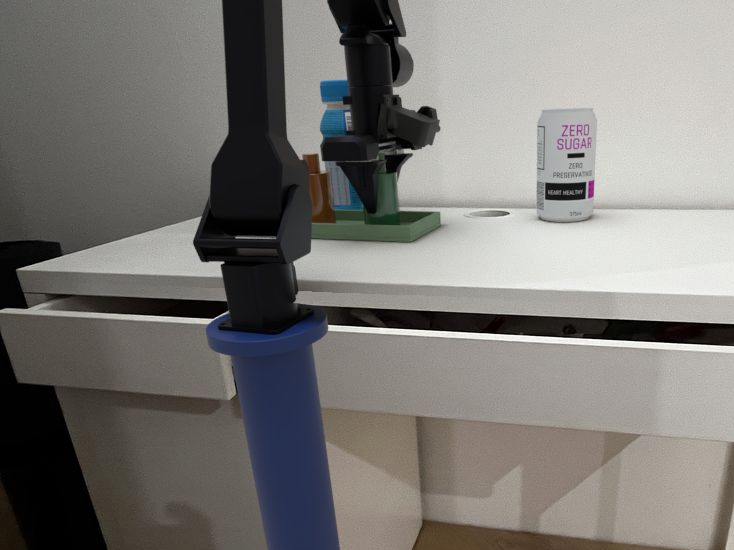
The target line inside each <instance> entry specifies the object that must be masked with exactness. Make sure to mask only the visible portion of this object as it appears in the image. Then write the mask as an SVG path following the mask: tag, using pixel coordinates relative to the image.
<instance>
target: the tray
mask: <svg viewBox="0 0 734 550" xmlns="http://www.w3.org/2000/svg"><path fill="white" fill-rule="evenodd" d="M335 214H336V223H337V224H334V223H312V232H311V239H317V240H318V239H320V240H342V241H343V240H346V241H347V240H348V241H370V242H371V241H373V242H374V241H375V242H397V243H399V242H401V243H412V242H413V241H415V240H417V239H419V238H421V237H423V236H424V235H426V234H428V233H430V232H432V231H434V230H435V229H437V228H439V227H441V226H442V222H441V220H442V219H441V211H431V210H429V211H427V210H400V222H401V225H368V224H364V217H363V210H341V209H335Z"/></svg>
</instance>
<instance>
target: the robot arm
mask: <svg viewBox="0 0 734 550" xmlns="http://www.w3.org/2000/svg"><path fill="white" fill-rule="evenodd" d="M326 3H327V6H328V9H329V11H330V13H331V15H332V17H333V19H334V21H335V23H336V26H337V28H338V30H339V32H340V34H341V35H340V37H339V40H338V43H339V45H340V46H343V51H344V52H343V53H344V62H345V63H344V64H345V71H346V80H347V83H348V87H349V88H348V94H349V96H342V97H343V105H350V114H351V125H352V130H347V131H346V135H339V136H331V137H326V138H325V139H324V140H323V139H322V140H323V142H322V141H321V143H320V145H319V147H320V148H319V149H320V157H321V162H324V161H337V162H336V165H337V166H340V168H341V169H342V171H343V172H344V174H345V175H346V177H347V179H348V180H349V182H350V183H351V185H352V186H353V188H354V190H355V191H356V193H357V195H358V197H359V198H360V200H361V202H362V204H363V205H364V207H365V209H366V211H367V212H368V213H369V214H375V213H376V210H377V186H378V172H379V170H380V169H381V168H382V166H383V165H384V164H385V162H386V171H396V172H397V181H398V182H399V179H400V174H401V170H402V167H403V166H404V165H405V163H406V162H408V160H409V159H411V158H412V157H413V156H414V153H412V152H410V153H409V152H406V153H405V150H411V151H419V150H423V148H425V147H427V146H430V147H432V146H433V145H434V142H435V138H436V134H437V133H440V131H441V126H440V123H441V120H440V119H438V113H437V109H436V108H434V107H432V106H428V105H422V106H421V107H420V108H419V109H418V110H417V111H416V110H414V109H409V108H406V107H403V103H402V102H403V101H402V97H401V96H400V94H394V88H400V87H403V86H404V85H406V84H407V83H408V82H409V81H410V80H411V78H412V77H413V73H414V67H415V64H414V59H413V57H412V54H411V52H410V51H409V49H408V48H407V47H405V46H404V45H402V44H401V43H400V42H399V41H400V40H399V39H400V38H406V37H407V29H406V27H405V22H404V18H403V14H402V11H401V7H400V3H399V0H326ZM221 11H222V13H221V14H222V31H223V47H224V48H223V51H224V53H223V54H224V70H225V71H224V72H225V90H226V110H227V111H226V113H227V128H228V129H227V135H226V137H225V139H224V141H223V142H222V144H221V146H220V147H219V149H218V151H217V153H216V155H215V157H214V158H213V160H212V162H211V165H210V180H209V195H208V198H207V201H206V204H205V206H204V209H203V212H202V214H201V218H200V221H199V223H198V226H197V228H196V231H195V234H194V237H193V240H192V245H193V248H194V250H195V252H196V254H197V256H198V258H199V261H200V262H201V263H209V262H214V263H215V262H217V263H221V264H220V265H219V267H220V271H221V276H222V283H223V287H224V292H225V298H226V303H227V309H228V313H229V314H230V318H229V319H227V320H225V321H223V322H221V323H219V324H218V325H217V326H218V330H224V331H235V332H246V333H256V334H267V335H278V334H281V333H282V332H284V331H286V330H287V329H289V328H291V327H292V326H294V325H296V324H297V323H299V322H301V321H302V320H304V319H306V318H307V317H309V316H311V315H312V314H314V309H313V308H305V307H299V305H300V304H301V303H300V302H296V301H297V295H298V293H299V286H298V279H297V271H296V266H295V265H294V262H295V261H298V260H299V259H301V258H303V257H305V256H307V255H309V254H310V253H311V251H312V238H311V232H312V199H311V195H310V187H309V180H310V168H309V166H308V164H307V162H306V160H303V159H300V157H299V156H298V153H296V151H295V149H294V147H293V146H292V145H291V142H290V141H289V139H288V131H287V130H288V129H287V104H286V103H287V101H286V100H287V99H286V98H287V97H286V75H285V73H286V72H285V71H286V69H285V46H284V45H285V43H284V16H283V15H284V13H283V0H221ZM380 152H381V153H385V160H379V159H378V153H380Z"/></svg>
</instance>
